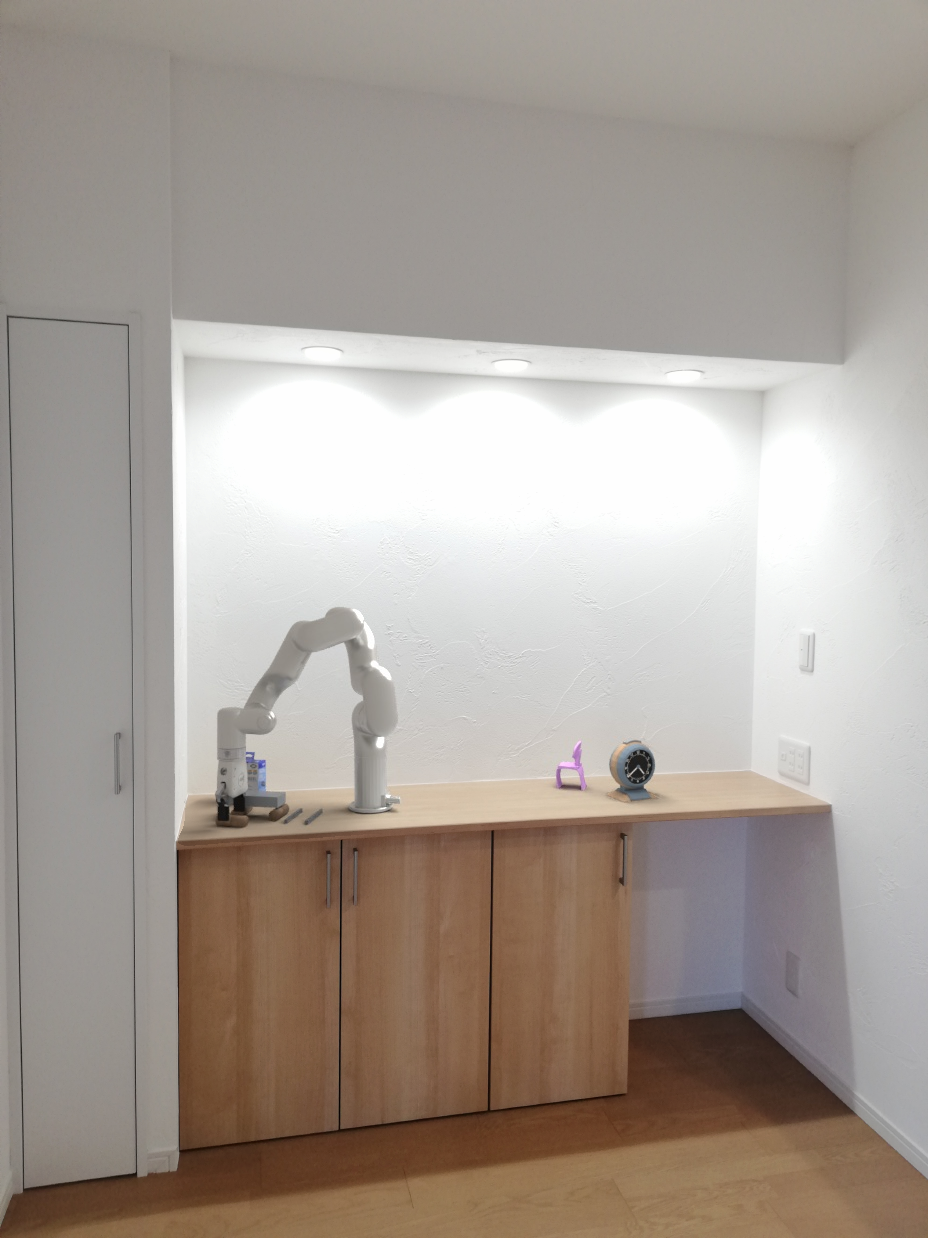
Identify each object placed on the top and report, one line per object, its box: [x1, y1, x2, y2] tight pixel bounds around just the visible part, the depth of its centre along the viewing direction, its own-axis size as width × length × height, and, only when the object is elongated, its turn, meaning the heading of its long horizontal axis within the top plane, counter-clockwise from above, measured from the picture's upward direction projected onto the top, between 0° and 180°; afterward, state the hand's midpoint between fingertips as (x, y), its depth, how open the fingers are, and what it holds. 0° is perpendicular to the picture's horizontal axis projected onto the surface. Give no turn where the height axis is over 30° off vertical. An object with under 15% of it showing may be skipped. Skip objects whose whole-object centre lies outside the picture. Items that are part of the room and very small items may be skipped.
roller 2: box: [230, 806, 254, 816], centre depth 249 cm, size 3×8×3 cm, turn 170°
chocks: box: [283, 807, 324, 825], centre depth 246 cm, size 7×12×1 cm, turn 170°
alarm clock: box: [605, 738, 659, 803], centre depth 269 cm, size 14×10×18 cm
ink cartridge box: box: [246, 751, 267, 791], centre depth 265 cm, size 10×6×14 cm, turn 78°
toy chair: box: [555, 740, 587, 791], centre depth 282 cm, size 8×9×15 cm
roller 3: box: [267, 803, 290, 822], centre depth 247 cm, size 3×8×3 cm
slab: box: [224, 790, 287, 809], centre depth 248 cm, size 16×6×3 cm, turn 80°
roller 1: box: [215, 814, 249, 828], centre depth 239 cm, size 8×3×3 cm, turn 80°
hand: (231, 816), depth 239 cm, fingers open, 9 cm apart
